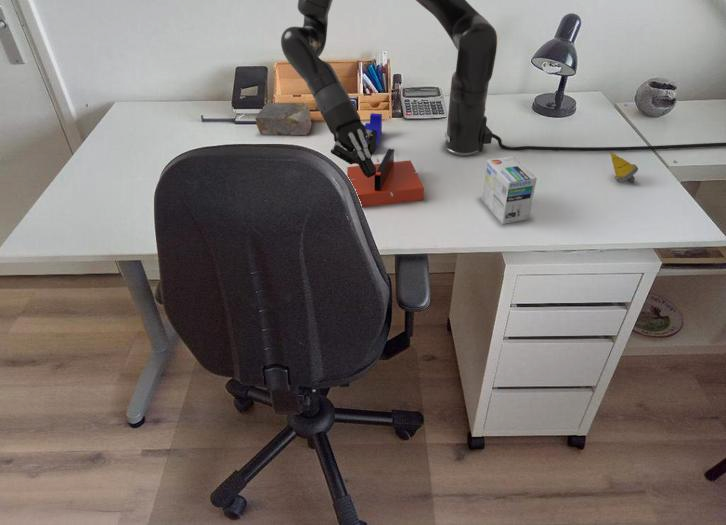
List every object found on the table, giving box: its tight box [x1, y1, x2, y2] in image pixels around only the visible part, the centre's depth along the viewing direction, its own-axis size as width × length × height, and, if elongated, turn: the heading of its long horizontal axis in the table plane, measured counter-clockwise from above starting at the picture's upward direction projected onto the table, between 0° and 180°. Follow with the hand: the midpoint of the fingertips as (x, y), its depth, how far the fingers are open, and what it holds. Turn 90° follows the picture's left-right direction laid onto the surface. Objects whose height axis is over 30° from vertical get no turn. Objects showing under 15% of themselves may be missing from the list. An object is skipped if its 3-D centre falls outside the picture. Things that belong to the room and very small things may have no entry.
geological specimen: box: [255, 102, 313, 137], centre depth 157 cm, size 11×6×15 cm
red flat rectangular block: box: [346, 158, 425, 208], centre depth 130 cm, size 17×17×4 cm
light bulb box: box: [481, 155, 538, 225], centre depth 121 cm, size 11×7×11 cm, turn 17°
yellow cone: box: [609, 151, 639, 184], centre depth 131 cm, size 5×5×10 cm
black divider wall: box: [375, 148, 395, 191], centre depth 128 cm, size 13×1×4 cm, turn 164°
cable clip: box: [364, 112, 383, 149], centre depth 148 cm, size 12×4×6 cm, turn 168°
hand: (372, 175), depth 124 cm, fingers closed
